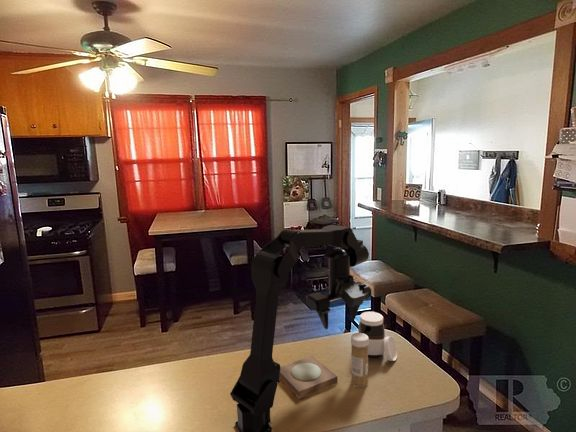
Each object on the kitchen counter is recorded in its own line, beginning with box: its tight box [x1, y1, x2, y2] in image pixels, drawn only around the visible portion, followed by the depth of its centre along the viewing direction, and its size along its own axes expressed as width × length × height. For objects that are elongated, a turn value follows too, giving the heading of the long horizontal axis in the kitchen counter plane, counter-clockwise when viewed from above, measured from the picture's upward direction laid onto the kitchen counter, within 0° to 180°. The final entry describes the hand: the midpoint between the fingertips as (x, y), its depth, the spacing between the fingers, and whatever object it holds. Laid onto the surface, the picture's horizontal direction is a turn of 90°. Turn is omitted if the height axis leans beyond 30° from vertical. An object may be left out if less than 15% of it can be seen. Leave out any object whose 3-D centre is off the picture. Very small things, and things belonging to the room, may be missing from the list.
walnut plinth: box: [279, 355, 338, 400], centre depth 102 cm, size 12×12×2 cm
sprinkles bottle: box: [350, 332, 369, 388], centre depth 98 cm, size 5×5×14 cm
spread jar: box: [357, 311, 398, 362], centre depth 112 cm, size 12×11×12 cm
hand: (339, 324), depth 105 cm, fingers open, 9 cm apart
